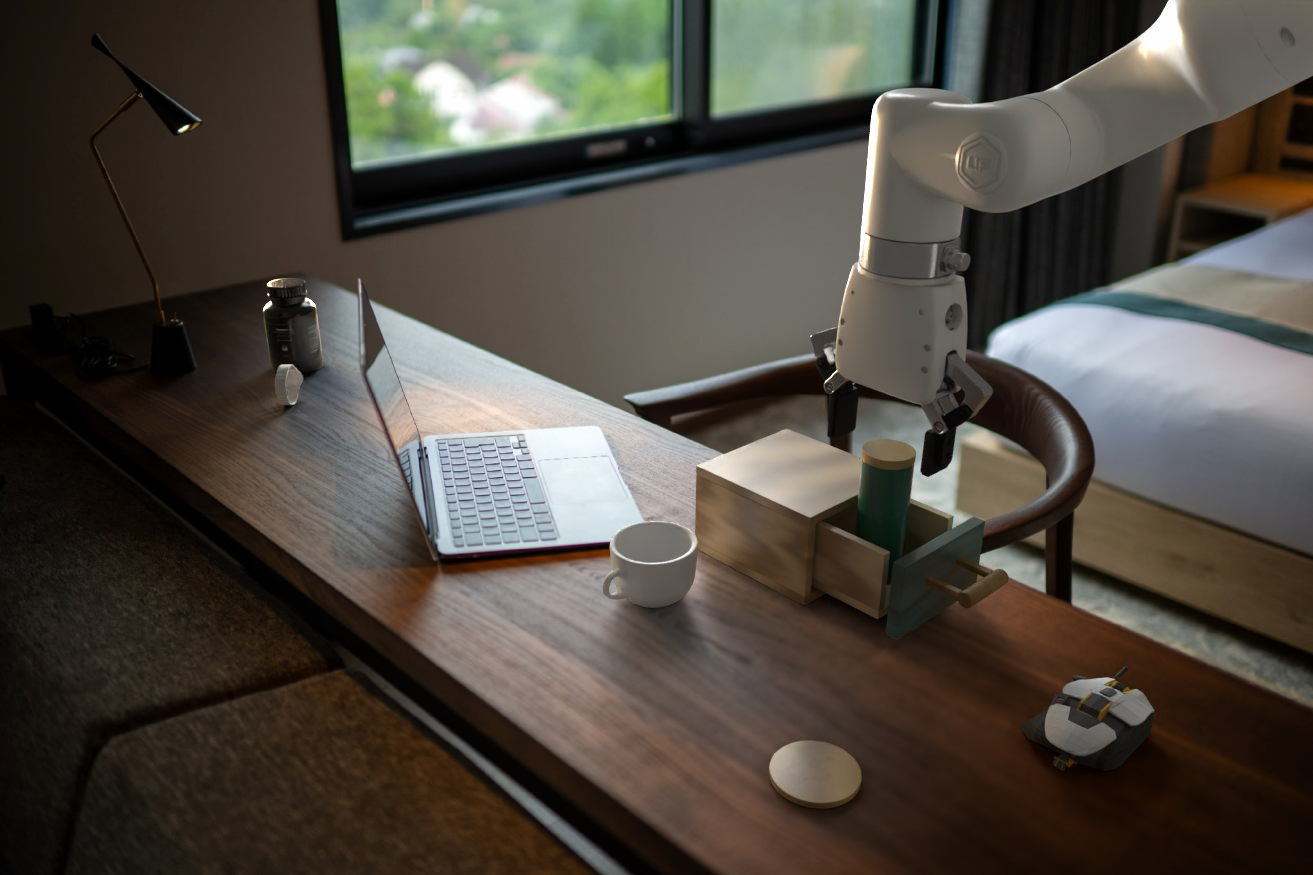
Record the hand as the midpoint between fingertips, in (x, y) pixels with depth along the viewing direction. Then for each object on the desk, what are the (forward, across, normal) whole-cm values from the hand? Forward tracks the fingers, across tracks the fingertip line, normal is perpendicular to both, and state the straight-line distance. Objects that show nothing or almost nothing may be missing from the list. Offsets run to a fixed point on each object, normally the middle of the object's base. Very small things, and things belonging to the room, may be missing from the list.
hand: (886, 451), depth 93 cm
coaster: (+14, -12, +22) cm, 29 cm away
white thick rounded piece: (+15, +76, +19) cm, 80 cm away
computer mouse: (+14, -23, +3) cm, 27 cm away
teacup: (+14, +13, +16) cm, 25 cm away
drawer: (+13, -3, 0) cm, 13 cm away
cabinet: (+14, +9, 0) cm, 17 cm away
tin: (+12, 0, 0) cm, 12 cm away
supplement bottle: (+15, +88, +12) cm, 90 cm away
